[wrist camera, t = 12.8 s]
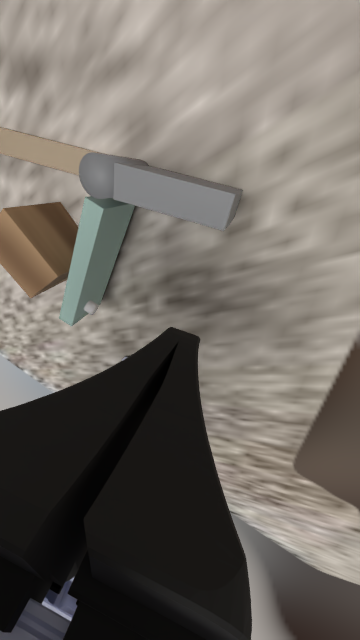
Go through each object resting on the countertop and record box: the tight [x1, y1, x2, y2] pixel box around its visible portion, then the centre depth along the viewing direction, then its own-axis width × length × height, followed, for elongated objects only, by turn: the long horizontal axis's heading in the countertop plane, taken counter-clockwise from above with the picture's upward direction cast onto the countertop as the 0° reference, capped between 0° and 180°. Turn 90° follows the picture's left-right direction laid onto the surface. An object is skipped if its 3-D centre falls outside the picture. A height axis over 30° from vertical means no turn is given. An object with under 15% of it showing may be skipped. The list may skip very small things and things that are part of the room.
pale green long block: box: [59, 196, 135, 326], centre depth 17 cm, size 10×3×4 cm, turn 152°
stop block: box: [0, 202, 78, 298], centre depth 18 cm, size 4×5×5 cm
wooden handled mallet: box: [0, 127, 243, 231], centre depth 14 cm, size 2×21×5 cm, turn 78°
